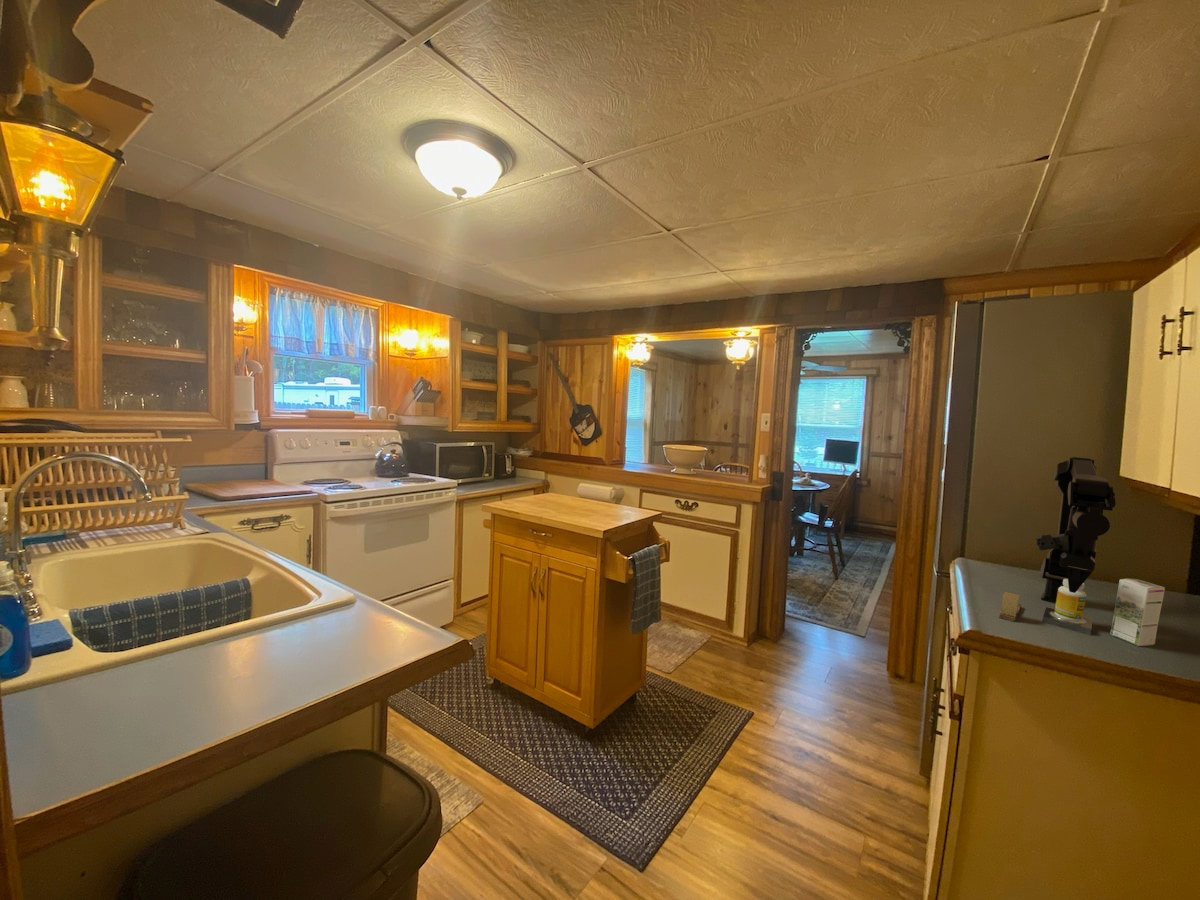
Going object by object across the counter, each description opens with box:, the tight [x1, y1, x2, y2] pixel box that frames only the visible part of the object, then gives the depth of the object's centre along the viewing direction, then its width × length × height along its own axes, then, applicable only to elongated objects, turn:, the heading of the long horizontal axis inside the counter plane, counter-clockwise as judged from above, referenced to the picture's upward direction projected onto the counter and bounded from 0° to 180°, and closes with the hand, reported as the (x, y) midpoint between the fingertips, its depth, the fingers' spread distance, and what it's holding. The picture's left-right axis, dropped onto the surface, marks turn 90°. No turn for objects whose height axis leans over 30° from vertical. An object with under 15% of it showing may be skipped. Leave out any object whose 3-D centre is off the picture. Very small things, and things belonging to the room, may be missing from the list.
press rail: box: [999, 602, 1022, 623], centre depth 135 cm, size 14×3×1 cm, turn 135°
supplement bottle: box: [1054, 579, 1087, 621], centre depth 130 cm, size 5×5×10 cm
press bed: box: [1042, 606, 1093, 636], centre depth 130 cm, size 9×9×2 cm
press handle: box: [1000, 591, 1021, 617], centre depth 131 cm, size 3×3×5 cm
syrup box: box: [1109, 577, 1166, 647], centre depth 122 cm, size 6×6×14 cm
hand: (1073, 587), depth 129 cm, fingers open, 9 cm apart
